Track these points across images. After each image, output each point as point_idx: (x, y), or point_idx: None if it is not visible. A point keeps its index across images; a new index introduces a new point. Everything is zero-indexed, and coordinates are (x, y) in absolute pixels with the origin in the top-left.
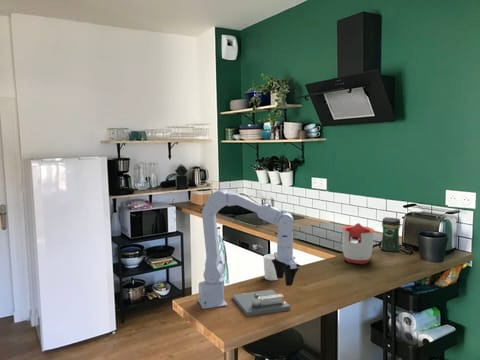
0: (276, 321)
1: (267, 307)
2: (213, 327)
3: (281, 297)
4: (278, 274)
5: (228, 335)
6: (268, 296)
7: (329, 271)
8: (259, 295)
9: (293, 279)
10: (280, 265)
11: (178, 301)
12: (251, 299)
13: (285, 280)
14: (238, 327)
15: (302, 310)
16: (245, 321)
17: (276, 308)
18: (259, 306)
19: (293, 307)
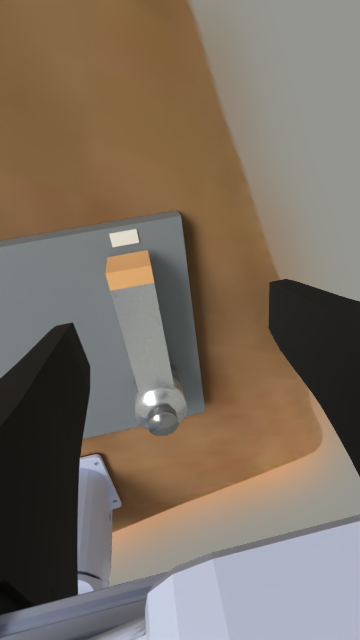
0: None
1: (175, 337)
2: (244, 472)
3: (153, 280)
4: (81, 392)
5: (301, 442)
6: (141, 354)
7: None
8: (14, 354)
9: (333, 295)
10: (48, 476)
11: None
12: None
13: (297, 367)
14: (268, 422)
15: (199, 129)
16: (236, 404)
17: (190, 297)
18: (178, 375)
19: (146, 177)
